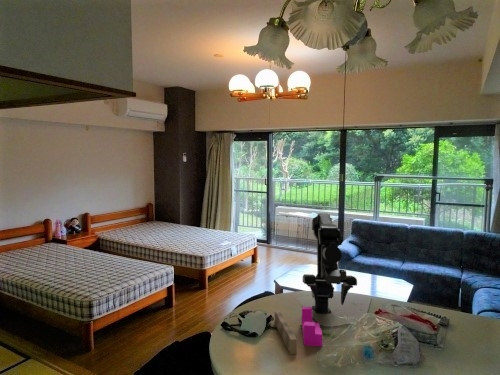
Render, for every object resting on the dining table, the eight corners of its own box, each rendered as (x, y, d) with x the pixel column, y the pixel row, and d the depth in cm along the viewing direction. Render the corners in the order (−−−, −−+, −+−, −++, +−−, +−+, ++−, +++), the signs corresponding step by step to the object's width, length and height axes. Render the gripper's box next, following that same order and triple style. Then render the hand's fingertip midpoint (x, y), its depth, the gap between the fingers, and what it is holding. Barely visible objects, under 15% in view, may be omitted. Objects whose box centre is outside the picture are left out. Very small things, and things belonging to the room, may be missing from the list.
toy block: (322, 346, 118) (322, 326, 117) (304, 345, 118) (304, 325, 118) (317, 325, 133) (318, 307, 132) (301, 325, 133) (301, 306, 133)
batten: (274, 322, 134) (274, 310, 134) (279, 322, 135) (279, 310, 134) (290, 354, 113) (290, 339, 112) (296, 353, 113) (296, 339, 113)
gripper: (307, 261, 116) (307, 308, 114) (361, 263, 115) (362, 310, 113) (302, 258, 127) (302, 301, 125) (352, 260, 126) (352, 303, 125)
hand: (329, 304), depth 122 cm, fingers open, 9 cm apart
